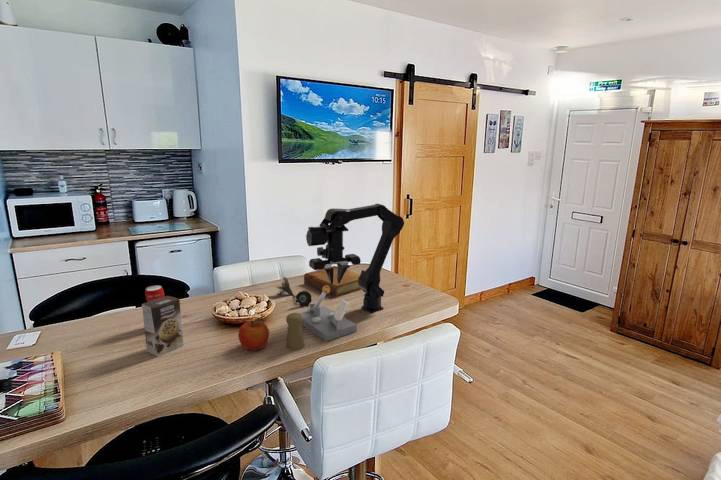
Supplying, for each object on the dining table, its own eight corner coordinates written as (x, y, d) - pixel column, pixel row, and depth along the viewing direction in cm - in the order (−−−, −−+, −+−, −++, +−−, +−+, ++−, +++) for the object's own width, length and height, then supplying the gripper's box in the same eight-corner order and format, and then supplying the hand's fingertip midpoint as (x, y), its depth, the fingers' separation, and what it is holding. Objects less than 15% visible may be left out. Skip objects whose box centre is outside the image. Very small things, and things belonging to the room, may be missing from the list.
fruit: (244, 339, 137) (242, 312, 134) (272, 340, 136) (271, 312, 134) (234, 354, 127) (233, 324, 125) (265, 355, 127) (263, 325, 125)
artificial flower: (294, 312, 163) (286, 290, 160) (277, 300, 182) (269, 280, 180) (314, 302, 166) (306, 280, 164) (295, 291, 186) (287, 272, 183)
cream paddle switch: (334, 323, 144) (345, 300, 144) (339, 328, 140) (350, 304, 140) (329, 321, 143) (340, 298, 143) (334, 326, 139) (345, 302, 139)
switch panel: (324, 311, 160) (324, 298, 159) (356, 331, 144) (356, 316, 142) (294, 320, 152) (294, 306, 151) (325, 341, 136) (325, 326, 135)
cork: (300, 351, 129) (300, 319, 127) (282, 349, 131) (281, 317, 128) (307, 342, 135) (306, 311, 133) (289, 340, 136) (288, 309, 134)
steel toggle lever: (314, 311, 154) (329, 286, 155) (317, 314, 152) (333, 288, 152) (308, 308, 153) (323, 283, 154) (311, 311, 150) (326, 285, 151)
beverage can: (173, 324, 147) (169, 285, 144) (157, 332, 141) (152, 291, 138) (161, 321, 149) (157, 282, 146) (145, 328, 144) (140, 288, 140)
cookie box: (158, 357, 125) (152, 308, 121) (146, 351, 128) (140, 303, 124) (184, 345, 132) (180, 298, 129) (172, 340, 136) (167, 294, 132)
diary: (304, 285, 191) (303, 273, 190) (334, 276, 204) (334, 265, 203) (336, 298, 175) (335, 285, 174) (366, 288, 188) (367, 276, 186)
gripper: (348, 236, 161) (348, 274, 165) (303, 241, 153) (304, 280, 156) (361, 242, 151) (360, 282, 155) (314, 247, 143) (315, 289, 147)
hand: (335, 283), depth 153 cm, fingers open, 3 cm apart
